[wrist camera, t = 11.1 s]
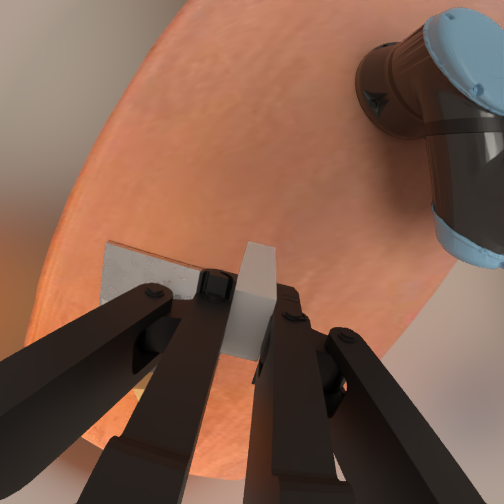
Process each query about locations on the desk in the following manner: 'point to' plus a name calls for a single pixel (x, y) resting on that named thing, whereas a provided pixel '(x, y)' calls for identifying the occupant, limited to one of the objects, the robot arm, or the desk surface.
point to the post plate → (144, 273)
